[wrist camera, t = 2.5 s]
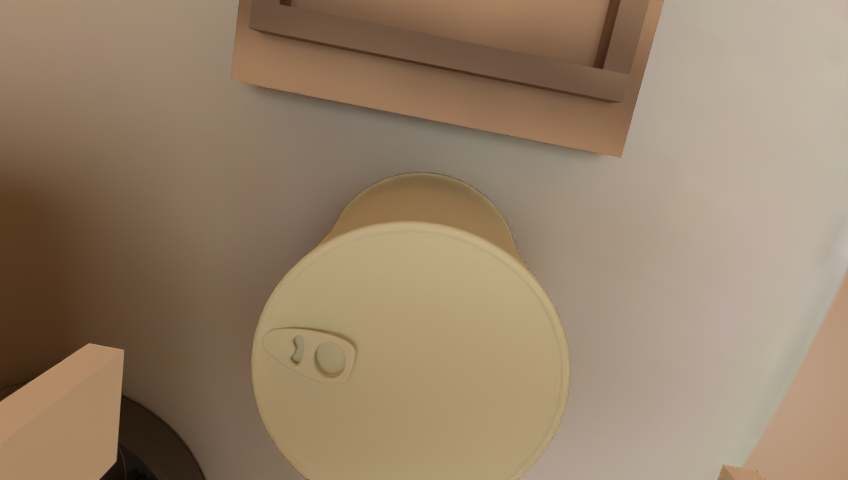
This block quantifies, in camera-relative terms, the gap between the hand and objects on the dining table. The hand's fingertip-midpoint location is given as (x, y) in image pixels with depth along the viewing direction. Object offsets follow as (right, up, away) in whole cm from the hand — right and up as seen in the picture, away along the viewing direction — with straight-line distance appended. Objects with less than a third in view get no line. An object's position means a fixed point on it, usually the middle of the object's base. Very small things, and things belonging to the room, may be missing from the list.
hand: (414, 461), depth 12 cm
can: (0, +4, +15) cm, 16 cm away
